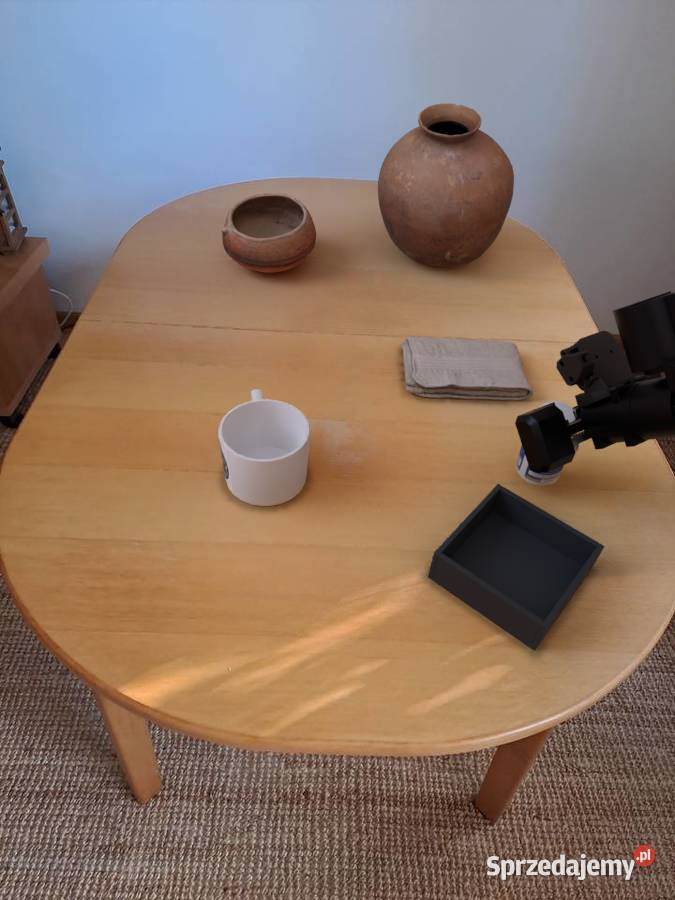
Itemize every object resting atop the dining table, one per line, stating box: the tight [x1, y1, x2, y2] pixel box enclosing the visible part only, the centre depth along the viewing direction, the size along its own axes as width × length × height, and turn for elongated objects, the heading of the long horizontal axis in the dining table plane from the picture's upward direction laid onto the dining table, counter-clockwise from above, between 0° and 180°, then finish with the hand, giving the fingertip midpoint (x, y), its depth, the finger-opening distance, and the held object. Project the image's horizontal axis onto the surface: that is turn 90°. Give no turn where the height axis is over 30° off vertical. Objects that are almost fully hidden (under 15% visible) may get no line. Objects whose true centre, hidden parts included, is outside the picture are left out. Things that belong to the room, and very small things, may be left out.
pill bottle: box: [515, 400, 576, 487], centre depth 79 cm, size 5×5×10 cm
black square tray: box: [427, 483, 605, 652], centre depth 72 cm, size 13×13×4 cm
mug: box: [217, 388, 311, 507], centre depth 80 cm, size 13×10×8 cm
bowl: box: [221, 192, 317, 273], centre depth 114 cm, size 16×16×10 cm
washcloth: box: [400, 335, 534, 401], centre depth 97 cm, size 12×18×3 cm, turn 91°
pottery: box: [377, 103, 515, 267], centre depth 114 cm, size 23×23×25 cm
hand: (543, 424), depth 79 cm, fingers closed on pill bottle, 5 cm apart
